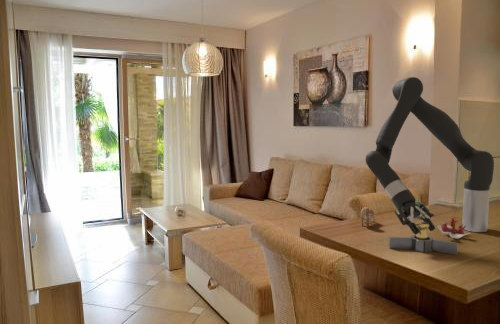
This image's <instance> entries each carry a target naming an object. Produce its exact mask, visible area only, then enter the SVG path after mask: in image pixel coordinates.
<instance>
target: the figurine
mask: <svg viewBox="0 0 500 324" xmlns="http://www.w3.org/2000/svg"><path fill="white" fill-rule="evenodd" d="M457 218H458V217H451V218H450V219H451V220H450V222H449V223H448V222H447V223H446V222H444V223H442V225H440V224H438V225H436V227H437V228H438V230H440V233H441V234H443V235H445V234H448V235H449V237H450V238H452V239H456V240H458V239H461V238H463V237H464V236H467V235H470V234H471V233H470V232H464V228H465V227H466V225H465V226H464V227H462V226H463V224H462V223H461V225H459V226H458V229H456V223H458V220H455V219H457ZM448 224H450V225H448Z"/></svg>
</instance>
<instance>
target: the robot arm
mask: <svg viewBox="0 0 500 324" xmlns="http://www.w3.org/2000/svg"><path fill="white" fill-rule="evenodd" d="M423 91H424V84H423V82H422V80H421V79H420V78H418V77H415V76H414V77H413V76H411V77H407V78H403V79H401V80H399V81H397V82H395V83H394V84H393V87H392V95H393V97H394V99H395V100H396V101H397V103H396V105H395V107H394V108H393V111H392V112H391V113H390V114H389V116H388V117H387V119H386V120H385V122H384V123H383V125H382V127H381V128H380V131H379V133H378V135H377V138H376V140H375V145H376V147H375V150H371V151H369V152H368V153H367V154H366V155H365V164H366V165H367V167H368V168H369V170H370V171H371V172H372V174H374V176H375V177H376V178H377V179H378V181H379V183H380V185H381V186H382V187H383V189H384V190H385V193H386V194H387V196H388V197H389V199H390V201H391V202H392V203H393V205H394V207H395V208H396V210H395V211H394V214H395V215H396V217H397V219H398V220H399V222H400V223H401V225H402V226H407V227H408V228H409V229H410V230H411V232H412V233H413V235H416V234H418V233H419V232H420V230H419V229H418V227H417V226H416V225H415V223H416V222H414V219H417V220H419V221H420V220H421V222H425V223H428V224H429V228H427V230H429V231H430V232H433V231H434V230H435V229H436V226H435V225H434V222H432V220H431V219H432V218H433V214H432V213H431V212H430V210H429V211H428V209H427V208H428V207H427V206H426V205H425V203H424V204H421V205H419V206H418V205H417V204H416V203H415V201H417V200H416V197H415V196H414V195H413V193H412V191H410V189H409V188H408V186H407V185H406V183H405V182H403V180H402V179H401V178H400V176H399V175H398V174H397V172H396V171H395V170H394V169H393V168H392V167H391V166H390V164H389V163H390V162H391V161H390V160H391V157H392V153H393V149H394V146H395V144H396V141H397V138H398V136H399V134H400V133H401V130H402V128H403V126H404V124H405V122H406V120H407V118H408V117H409V115H410V113H412V114H413V115H414V117H416V118H417V119H418V121H420V123H422V124H423V126H425V128H426V129H427V130H428V131H429V132H430V133H431V134H432V135H433V136H434V137H435V138H436V139H437V140H438V141H439V142H440V143H441V144H442V145H443V146H444V147H445V148H446V149H448V150H449V151H450V152H451V154H452V155H453V156H454V157H455V158H456V159H457V161H458V162H459V164H460V165H461V166H462V167H463V168H464V169H465V170H467V171H468V172H470V175H469V179H468V180H465V181H464V184H463V199H462V200H463V204H462V219H461V220H462V223H461V225H462V224H463V226H462V227H464V226H465V225H466V227H465V228H464V230H465V231H468V232H473V233H485V232H488V222H489V205H490V189H491V184H492V183H493V180H494V179H493V178H494V170H495V169H494V167H495V161H494V156H493V155H492V154H491V153H490V152H488V151H486V150H485V151H484V150H479V149H476V148H474V147H473V146H472V145H471V144H469V143H468V142H467V141H466V139H465V138H464V137H463V135H462V133H461V130H460V128H459V125H458V124H457V123H456V122H455V120H453V118H451V116H449V115H448V114H447V113H446V112H445V111H444V110H442V109H440V108H438V107H436V106H435V105H433V104H431V103H429V102H427V101H426V100H425V99H424V98H422V96H421V95H422V93H423ZM424 205H425V206H426V207H425V206H424ZM420 213H421V215H420ZM426 213H427V214H428V215H426ZM464 230H463V231H464Z"/></svg>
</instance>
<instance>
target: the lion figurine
mask: <svg viewBox="0 0 500 324" xmlns="http://www.w3.org/2000/svg"><path fill="white" fill-rule="evenodd" d="M374 212H375V211H374V210H373V209H372V208H370V207H367V206H365V207H362V208H361V210H360V212H359V218H360V225H359V226H360V227H363V226H364V223H365V225H366V227H368V228H369V227H371V226H370V221H371V223H375V221H376V220H375V214H374Z"/></svg>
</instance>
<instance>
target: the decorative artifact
mask: <svg viewBox="0 0 500 324" xmlns="http://www.w3.org/2000/svg"><path fill="white" fill-rule="evenodd" d="M415 203H416V204H417V205H418V206H419V205H421V204H424V206H425V207H426V208H427V209H428V211H429V212H430V208H429V207H427V205H425V202H421V200H420V199H417V200H415ZM420 215H421V213H420ZM426 215H428V214H427V213H426Z"/></svg>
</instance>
